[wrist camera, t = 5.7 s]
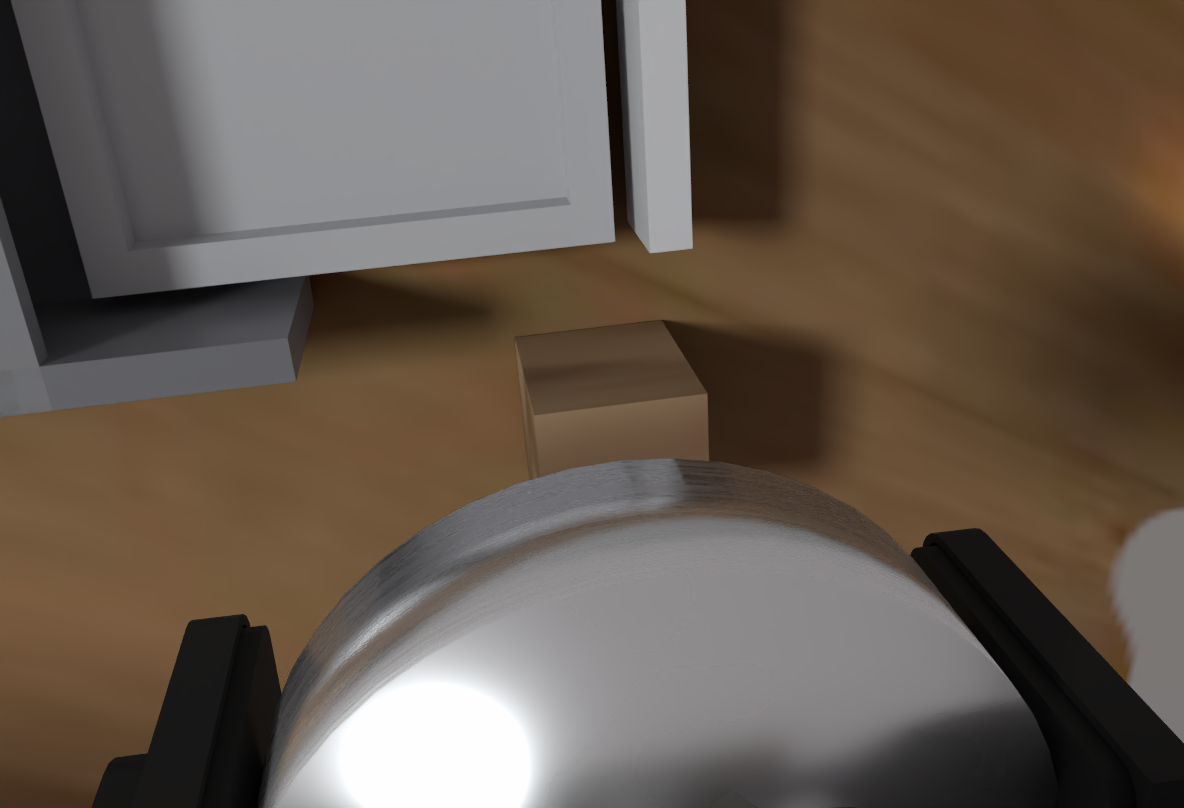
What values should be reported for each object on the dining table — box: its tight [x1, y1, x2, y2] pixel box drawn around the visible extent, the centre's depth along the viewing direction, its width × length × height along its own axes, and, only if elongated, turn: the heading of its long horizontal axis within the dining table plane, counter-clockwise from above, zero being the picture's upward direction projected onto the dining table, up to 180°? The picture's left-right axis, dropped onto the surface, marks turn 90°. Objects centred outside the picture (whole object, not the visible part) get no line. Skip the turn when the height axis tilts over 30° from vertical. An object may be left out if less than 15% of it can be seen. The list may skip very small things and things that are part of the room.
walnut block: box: [515, 320, 709, 480], centre depth 28 cm, size 4×4×5 cm
